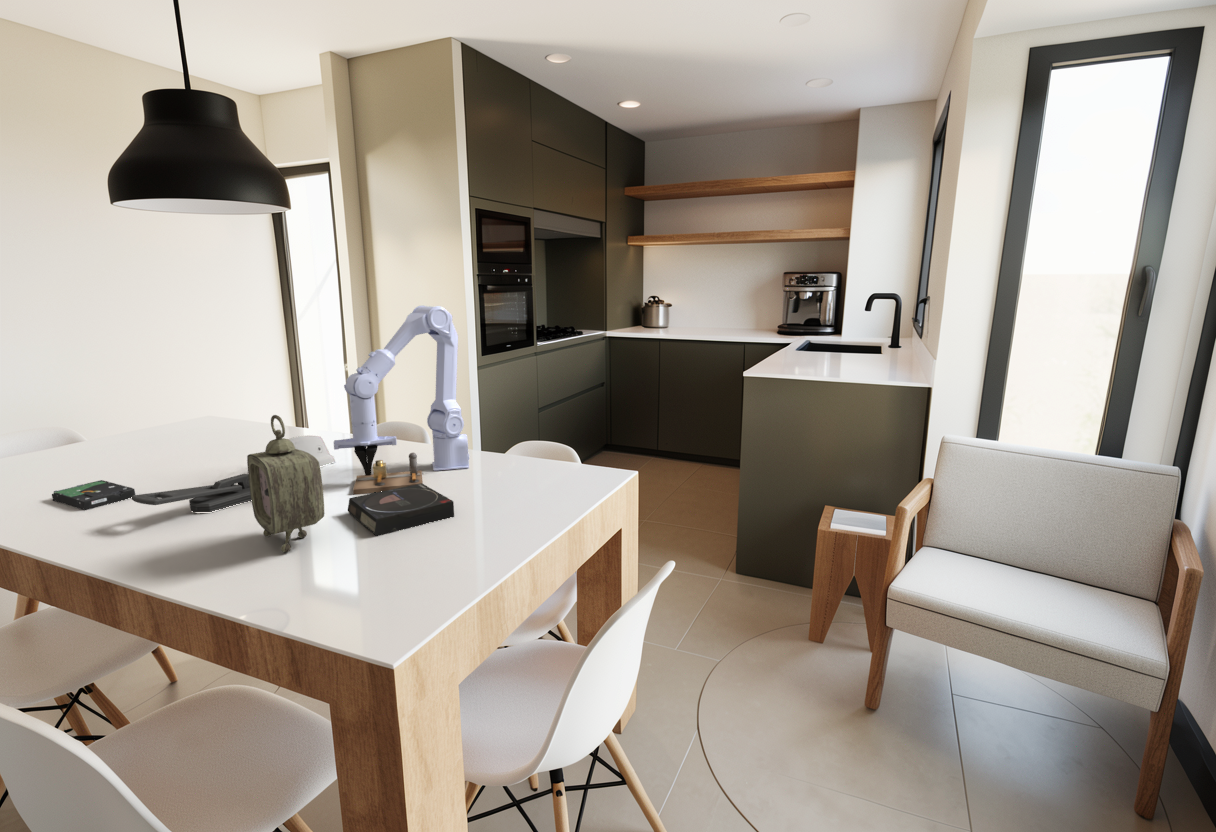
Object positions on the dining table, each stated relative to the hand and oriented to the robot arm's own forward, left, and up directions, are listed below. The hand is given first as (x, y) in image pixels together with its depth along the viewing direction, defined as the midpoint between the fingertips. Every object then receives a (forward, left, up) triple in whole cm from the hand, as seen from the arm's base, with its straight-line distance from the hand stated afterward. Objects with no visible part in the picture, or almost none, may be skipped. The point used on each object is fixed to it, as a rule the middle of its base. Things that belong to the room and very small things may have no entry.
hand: (368, 474), depth 154 cm
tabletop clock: (+12, +34, -3) cm, 36 cm away
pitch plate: (-5, +2, -2) cm, 6 cm away
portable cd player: (-8, +26, -3) cm, 27 cm away
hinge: (+18, -20, -3) cm, 27 cm away
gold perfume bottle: (-3, +2, -1) cm, 4 cm away
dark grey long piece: (+34, +9, -3) cm, 35 cm away
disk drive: (+61, -7, -3) cm, 61 cm away
